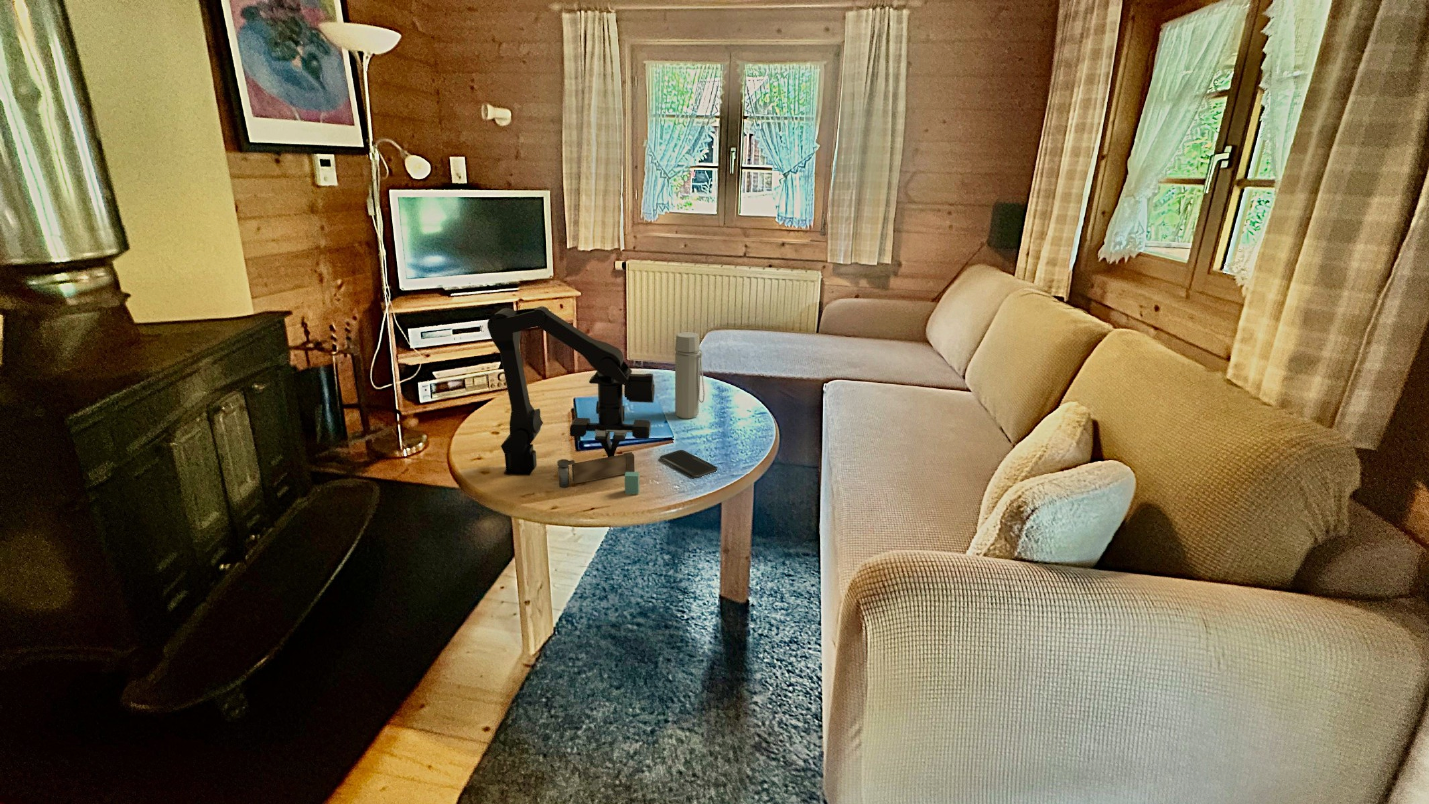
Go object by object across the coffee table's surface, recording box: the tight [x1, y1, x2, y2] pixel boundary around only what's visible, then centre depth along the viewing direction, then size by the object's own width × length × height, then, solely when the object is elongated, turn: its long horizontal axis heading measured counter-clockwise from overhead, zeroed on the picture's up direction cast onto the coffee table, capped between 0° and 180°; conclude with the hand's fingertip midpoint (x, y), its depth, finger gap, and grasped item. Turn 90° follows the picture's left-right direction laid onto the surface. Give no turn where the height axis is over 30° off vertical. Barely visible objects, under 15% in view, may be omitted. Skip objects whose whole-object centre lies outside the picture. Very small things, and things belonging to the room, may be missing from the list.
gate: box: [557, 451, 636, 484], centre depth 162 cm, size 18×3×6 cm, turn 118°
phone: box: [659, 449, 718, 479], centre depth 171 cm, size 8×1×15 cm
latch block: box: [624, 471, 640, 495], centre depth 156 cm, size 3×2×5 cm
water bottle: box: [674, 331, 706, 420], centre depth 200 cm, size 9×8×25 cm
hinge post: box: [557, 465, 571, 489], centre depth 158 cm, size 2×2×5 cm
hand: (611, 460), depth 166 cm, fingers closed
